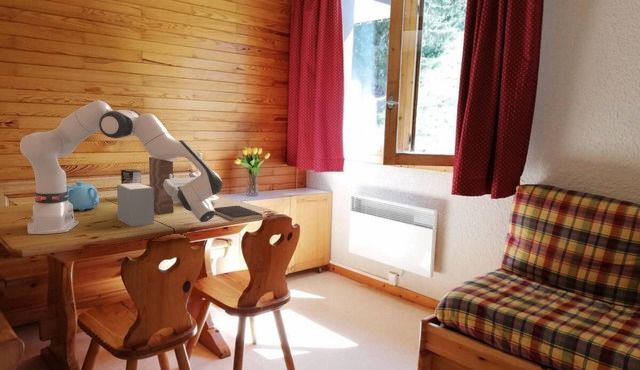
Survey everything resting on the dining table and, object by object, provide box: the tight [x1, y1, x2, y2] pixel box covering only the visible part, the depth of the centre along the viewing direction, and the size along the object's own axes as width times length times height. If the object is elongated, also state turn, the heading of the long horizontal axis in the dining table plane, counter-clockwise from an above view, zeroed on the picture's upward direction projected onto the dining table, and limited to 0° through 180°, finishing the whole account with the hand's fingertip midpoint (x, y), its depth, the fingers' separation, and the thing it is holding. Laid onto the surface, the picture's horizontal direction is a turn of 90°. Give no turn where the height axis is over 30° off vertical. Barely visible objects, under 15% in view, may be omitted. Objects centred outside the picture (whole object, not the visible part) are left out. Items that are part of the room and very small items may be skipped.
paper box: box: [116, 182, 155, 227], centre depth 207 cm, size 16×10×16 cm, turn 41°
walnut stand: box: [148, 156, 175, 215], centre depth 230 cm, size 14×6×26 cm, turn 41°
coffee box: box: [120, 168, 142, 184], centre depth 257 cm, size 9×6×16 cm
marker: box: [164, 157, 178, 163], centre depth 224 cm, size 20×3×3 cm, turn 41°
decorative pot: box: [66, 180, 100, 212], centre depth 229 cm, size 16×16×14 cm
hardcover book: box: [214, 205, 263, 222], centre depth 230 cm, size 16×23×2 cm
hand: (180, 174), depth 212 cm, fingers open, 8 cm apart
